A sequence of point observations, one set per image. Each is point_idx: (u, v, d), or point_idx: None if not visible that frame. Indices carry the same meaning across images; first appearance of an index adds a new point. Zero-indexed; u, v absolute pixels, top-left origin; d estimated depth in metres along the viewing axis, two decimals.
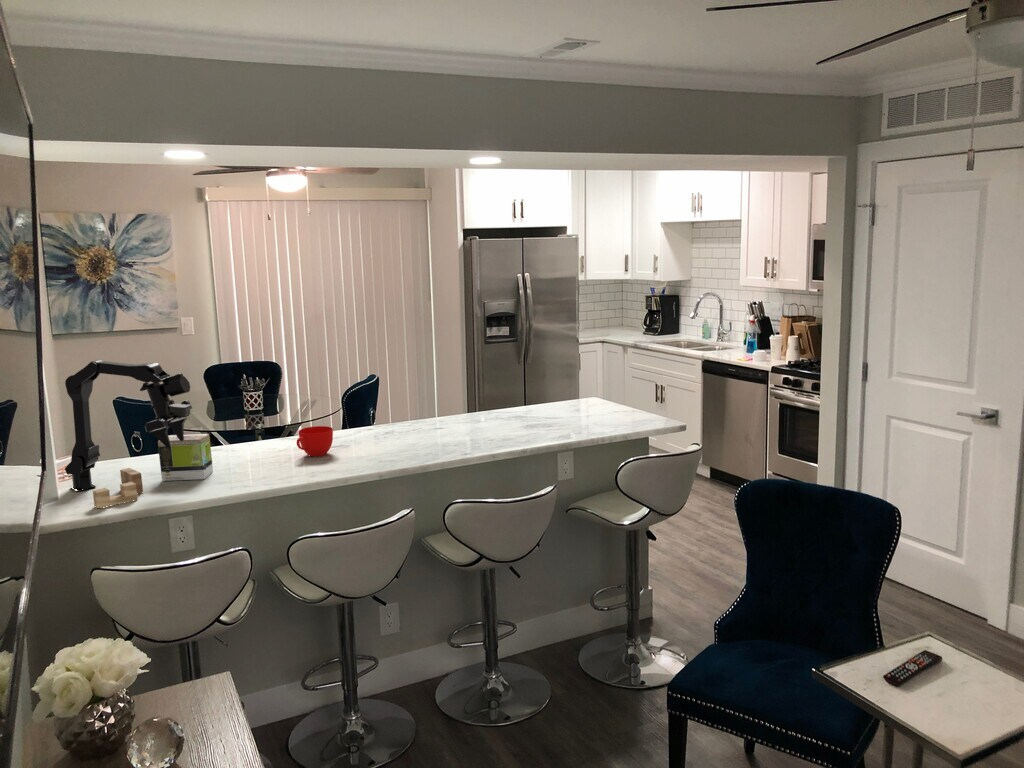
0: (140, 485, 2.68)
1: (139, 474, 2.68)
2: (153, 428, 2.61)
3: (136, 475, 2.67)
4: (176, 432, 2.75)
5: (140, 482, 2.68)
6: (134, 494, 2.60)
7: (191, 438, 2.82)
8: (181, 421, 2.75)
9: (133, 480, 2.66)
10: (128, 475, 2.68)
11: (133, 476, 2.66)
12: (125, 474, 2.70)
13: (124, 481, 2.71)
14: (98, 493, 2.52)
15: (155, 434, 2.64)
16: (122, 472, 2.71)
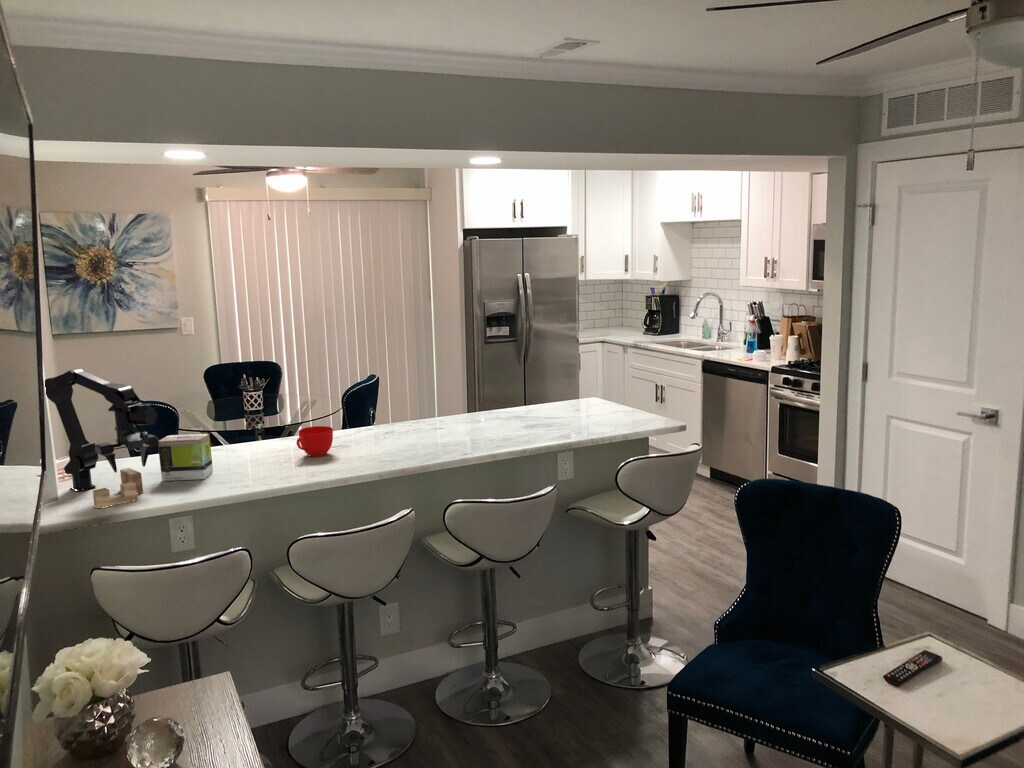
0: (140, 485, 2.68)
1: (139, 474, 2.68)
2: (98, 452, 2.62)
3: (136, 475, 2.67)
4: (141, 456, 2.74)
5: (140, 482, 2.68)
6: (134, 494, 2.60)
7: (191, 438, 2.82)
8: (145, 448, 2.71)
9: (133, 480, 2.66)
10: (128, 475, 2.68)
11: (133, 476, 2.66)
12: (125, 474, 2.70)
13: (124, 481, 2.71)
14: (98, 493, 2.52)
15: None
16: (122, 472, 2.71)
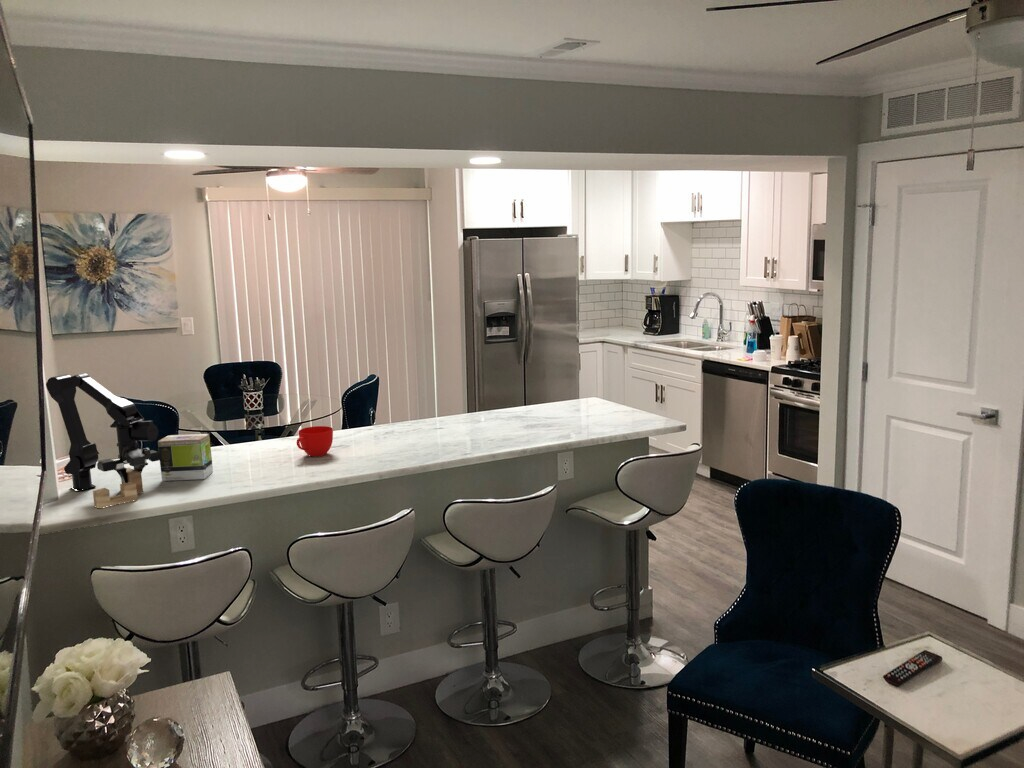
0: (140, 485, 2.68)
1: (139, 474, 2.68)
2: (100, 468, 2.63)
3: (136, 475, 2.67)
4: None
5: (140, 482, 2.68)
6: (134, 494, 2.60)
7: (191, 438, 2.82)
8: (138, 466, 2.70)
9: (133, 480, 2.66)
10: (128, 475, 2.68)
11: (133, 476, 2.66)
12: None
13: None
14: (98, 493, 2.52)
15: (117, 470, 2.69)
16: None
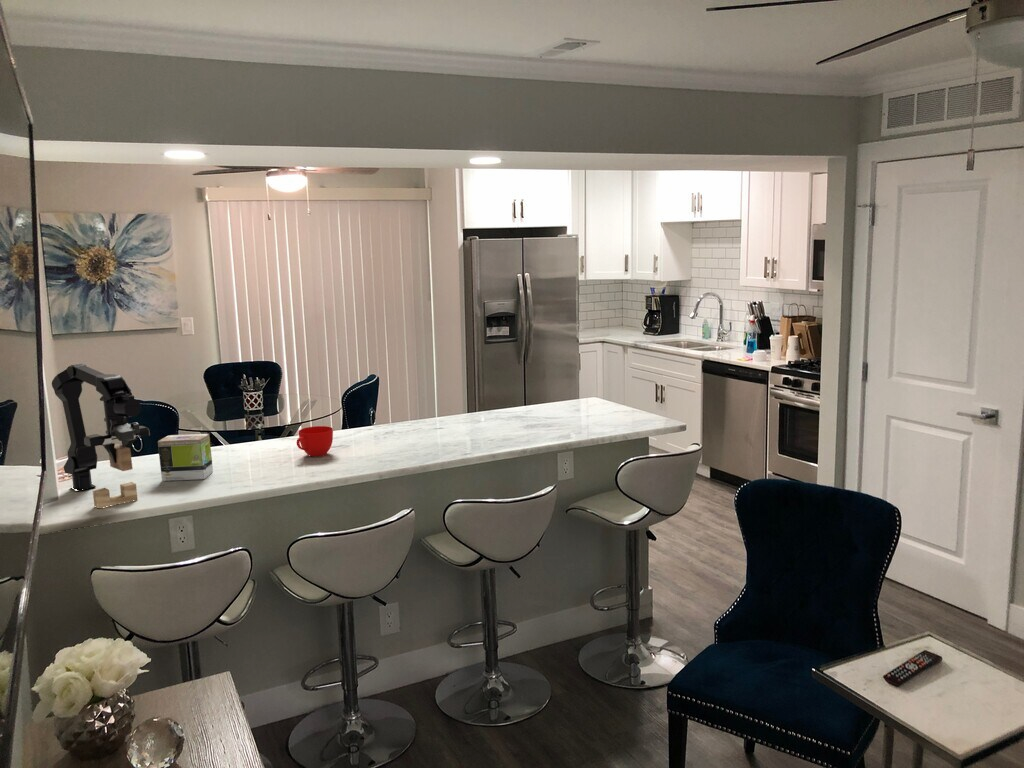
0: (129, 461, 2.59)
1: (128, 449, 2.58)
2: (87, 443, 2.54)
3: (125, 450, 2.58)
4: None
5: (129, 458, 2.59)
6: (134, 494, 2.60)
7: (191, 438, 2.82)
8: (127, 442, 2.61)
9: (122, 456, 2.57)
10: (117, 450, 2.58)
11: (122, 451, 2.57)
12: None
13: None
14: (98, 493, 2.52)
15: (105, 446, 2.59)
16: None
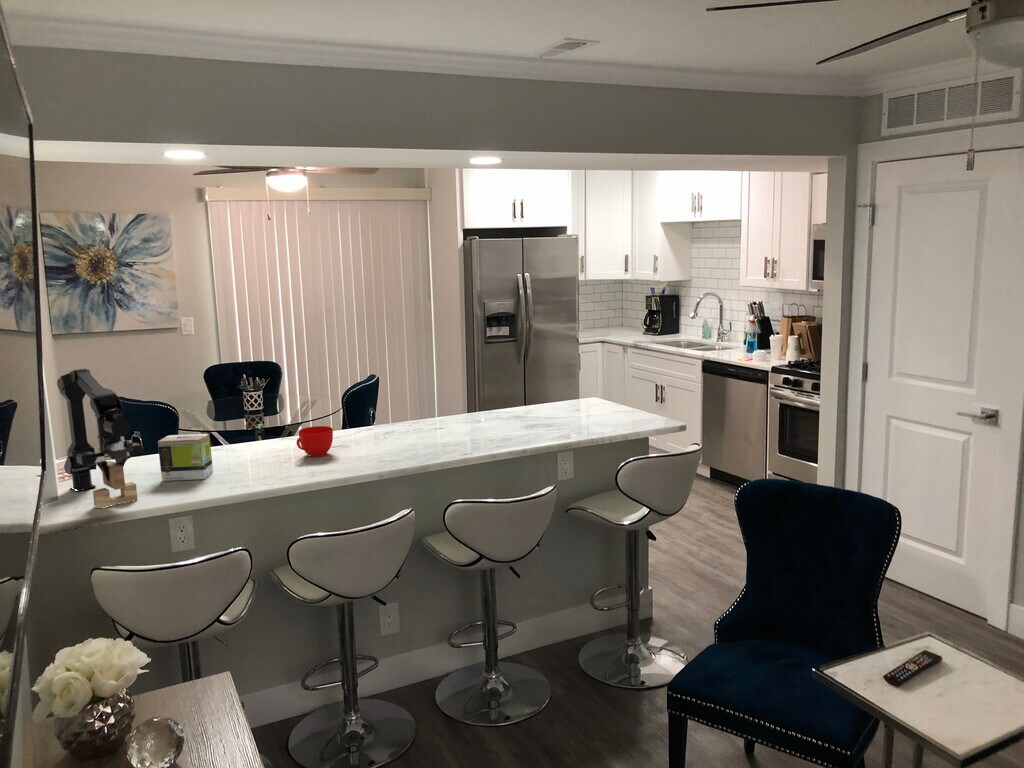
0: (122, 479, 2.54)
1: (121, 467, 2.53)
2: (79, 461, 2.49)
3: (118, 468, 2.53)
4: None
5: (122, 476, 2.54)
6: (134, 494, 2.60)
7: (191, 438, 2.82)
8: (120, 459, 2.56)
9: (114, 474, 2.52)
10: (110, 468, 2.53)
11: (114, 469, 2.52)
12: None
13: None
14: (98, 493, 2.52)
15: None
16: None
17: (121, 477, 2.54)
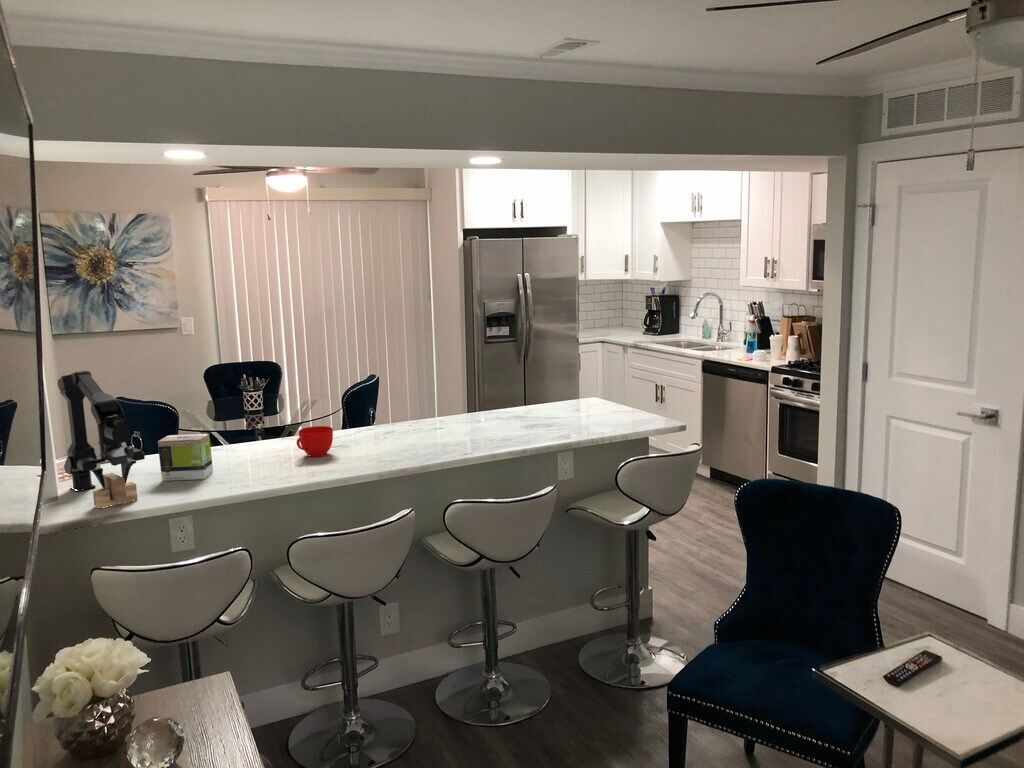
0: (123, 491, 2.55)
1: (122, 479, 2.54)
2: (80, 468, 2.49)
3: (119, 481, 2.53)
4: (122, 473, 2.60)
5: (123, 488, 2.54)
6: (134, 494, 2.60)
7: (191, 438, 2.82)
8: (126, 464, 2.57)
9: (115, 486, 2.53)
10: (111, 480, 2.54)
11: (116, 482, 2.53)
12: (108, 480, 2.56)
13: (107, 487, 2.58)
14: (98, 493, 2.52)
15: None
16: (105, 477, 2.58)
17: (122, 489, 2.54)
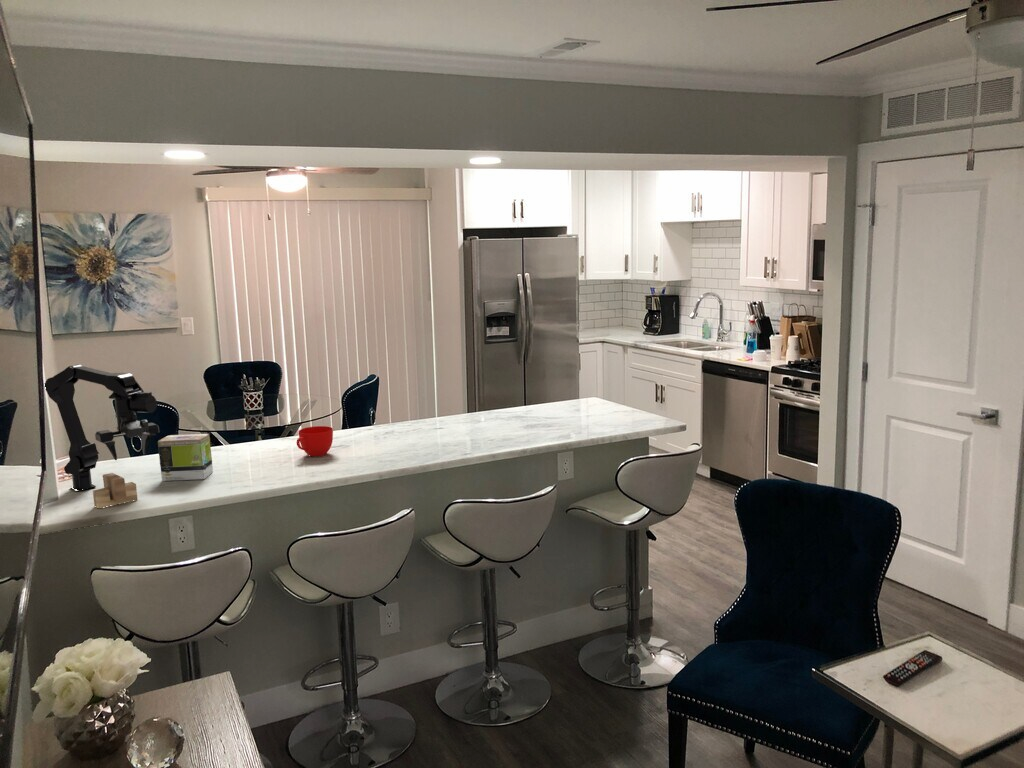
0: (123, 491, 2.55)
1: (122, 479, 2.54)
2: (97, 439, 2.61)
3: (119, 481, 2.53)
4: (142, 444, 2.72)
5: (123, 488, 2.54)
6: (134, 494, 2.60)
7: (191, 438, 2.82)
8: (146, 436, 2.70)
9: (115, 486, 2.53)
10: (111, 480, 2.54)
11: (116, 482, 2.53)
12: (108, 480, 2.56)
13: (107, 487, 2.58)
14: (98, 493, 2.52)
15: (106, 443, 2.65)
16: (105, 477, 2.58)
17: (122, 489, 2.54)
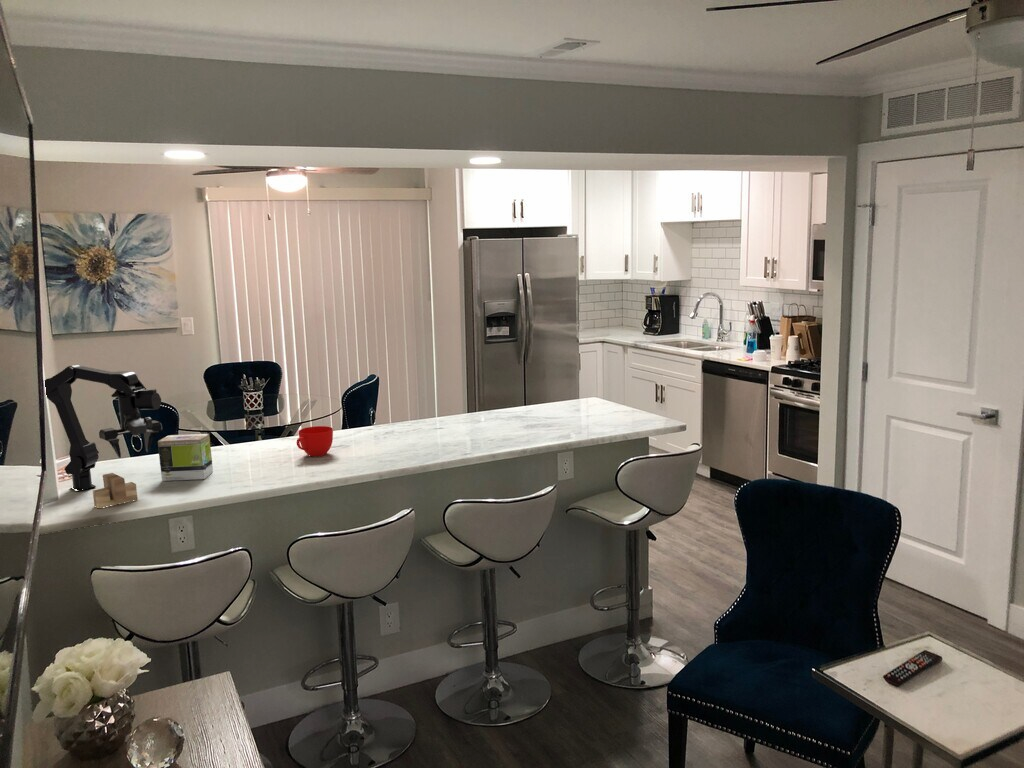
0: (123, 491, 2.55)
1: (122, 479, 2.54)
2: (102, 437, 2.64)
3: (119, 481, 2.53)
4: (145, 442, 2.75)
5: (123, 488, 2.54)
6: (134, 494, 2.60)
7: (191, 438, 2.82)
8: (149, 434, 2.73)
9: (115, 486, 2.53)
10: (111, 480, 2.54)
11: (116, 482, 2.53)
12: (108, 480, 2.56)
13: (107, 487, 2.58)
14: (98, 493, 2.52)
15: (110, 441, 2.67)
16: (105, 477, 2.58)
17: (122, 489, 2.54)
